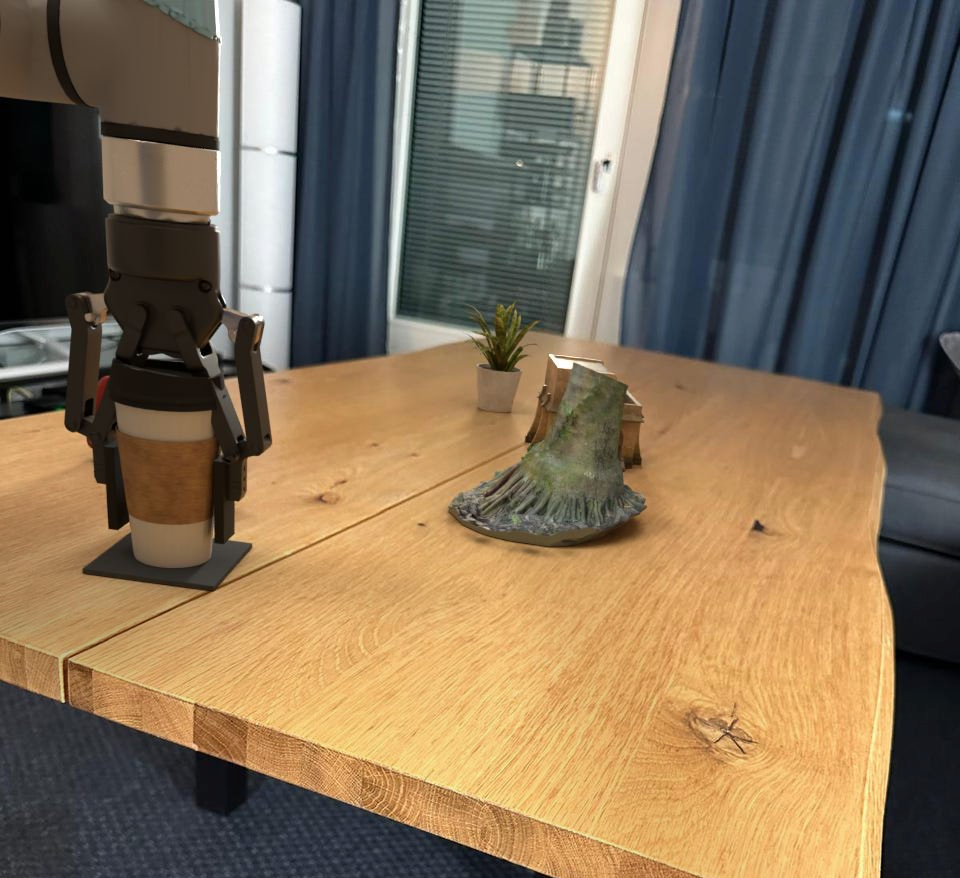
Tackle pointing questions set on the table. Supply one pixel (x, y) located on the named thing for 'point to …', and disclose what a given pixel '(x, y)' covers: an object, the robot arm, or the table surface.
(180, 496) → the coffee cup
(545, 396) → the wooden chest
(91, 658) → the table surface
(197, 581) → the mat
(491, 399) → the house plant
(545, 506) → the tree stump
